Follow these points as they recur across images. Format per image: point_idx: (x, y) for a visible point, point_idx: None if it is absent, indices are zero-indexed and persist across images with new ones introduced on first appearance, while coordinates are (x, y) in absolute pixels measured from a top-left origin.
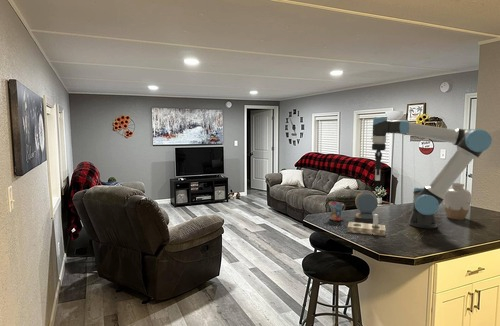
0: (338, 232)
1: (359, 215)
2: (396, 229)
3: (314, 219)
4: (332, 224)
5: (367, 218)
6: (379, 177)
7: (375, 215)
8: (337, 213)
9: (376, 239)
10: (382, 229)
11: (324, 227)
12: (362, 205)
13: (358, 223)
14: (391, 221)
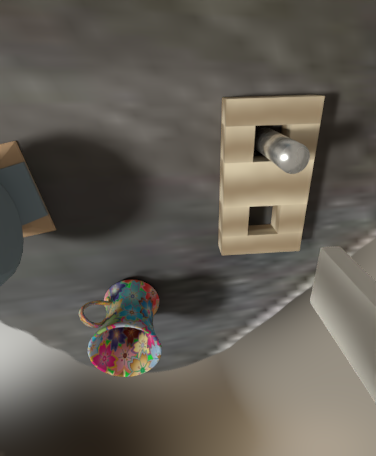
0: (304, 265)
1: (35, 226)
2: (184, 32)
3: (165, 354)
4: (207, 297)
5: (36, 186)
6: (366, 283)
7: (308, 161)
8: (151, 313)
9: (368, 131)
10: (309, 111)
11: (256, 311)
12: (11, 241)
13: (236, 218)
14: (21, 56)
